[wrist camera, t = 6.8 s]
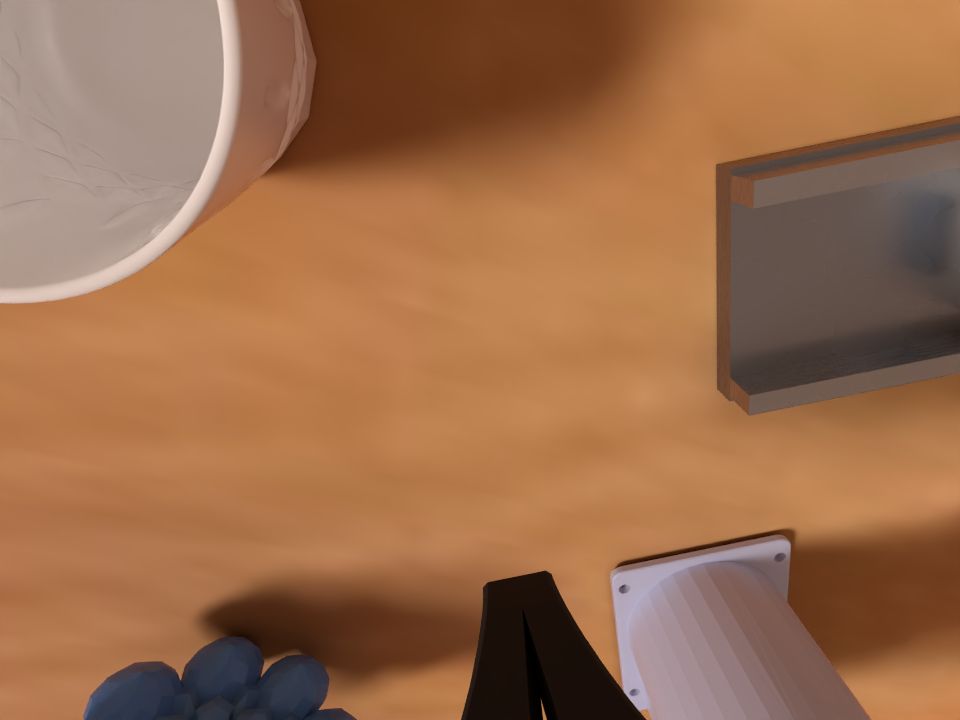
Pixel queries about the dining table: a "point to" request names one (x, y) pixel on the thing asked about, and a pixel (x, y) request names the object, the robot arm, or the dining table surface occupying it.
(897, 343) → the module housing
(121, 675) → the grapes
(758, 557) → the robot arm
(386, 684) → the dining table surface
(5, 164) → the white cup
